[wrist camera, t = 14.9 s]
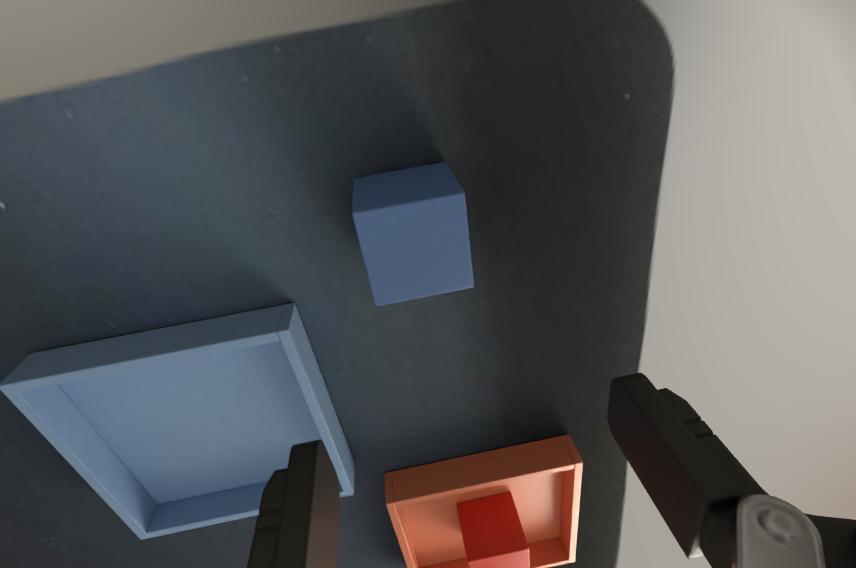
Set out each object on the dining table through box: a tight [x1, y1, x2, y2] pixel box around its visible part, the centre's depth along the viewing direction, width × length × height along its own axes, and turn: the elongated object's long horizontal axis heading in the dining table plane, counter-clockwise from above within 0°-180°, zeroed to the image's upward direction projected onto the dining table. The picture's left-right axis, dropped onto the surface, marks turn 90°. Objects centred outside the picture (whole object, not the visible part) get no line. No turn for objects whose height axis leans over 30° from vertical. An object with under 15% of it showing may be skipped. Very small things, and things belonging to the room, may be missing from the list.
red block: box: [456, 492, 530, 568], centre depth 34 cm, size 4×4×4 cm
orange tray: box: [384, 434, 583, 568], centre depth 35 cm, size 14×14×2 cm
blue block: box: [352, 162, 474, 306], centre depth 20 cm, size 4×4×4 cm
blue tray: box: [0, 303, 354, 540], centre depth 26 cm, size 14×14×2 cm
